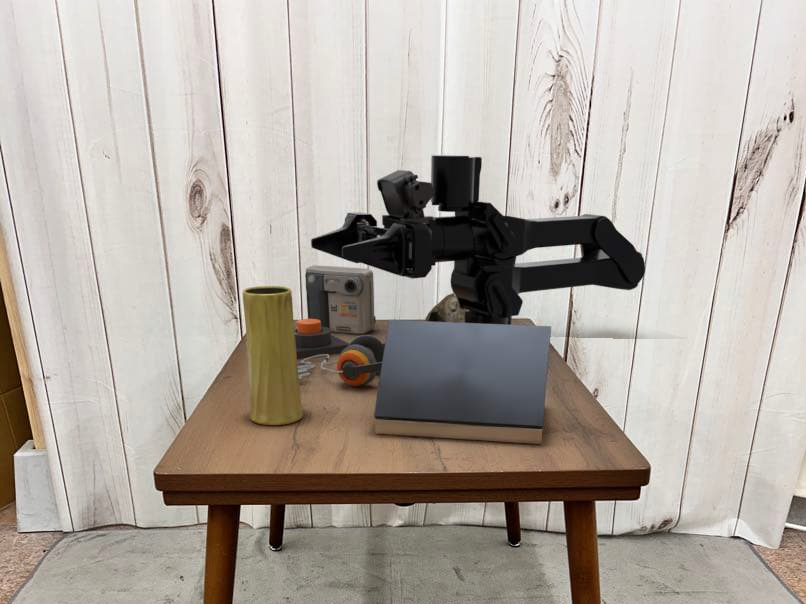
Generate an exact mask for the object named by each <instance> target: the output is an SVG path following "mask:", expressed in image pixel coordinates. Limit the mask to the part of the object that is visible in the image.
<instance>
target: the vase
mask: <svg viewBox="0 0 806 604" xmlns="http://www.w3.org/2000/svg"><path fill="white" fill-rule="evenodd" d="M242 304H243V313H244V325H245V336H246V350H247V351H246V352H247V366H248V367H247V369H248V386H249V401H250V402H249V403H250V404H249V405H250V412H249V419H250V420H251V422H254V423H255V424H258V425H264V426H284V425H289V424H293V423H297V422H298V421H300V420H301V419H303V417H304V411H303V405H302V398H301V387H300V385H301V384H300V379H299V376H298V375H299V373H298V366H299V365H298V359H297V353H296V343H295V332H294V327H295V322H294V308H293V307H294V305H293V292H292V288H290V287H287V286H281V285H261V286H260V285H259V286H252V287H247V288H244V289H243V290H242Z"/></svg>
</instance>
